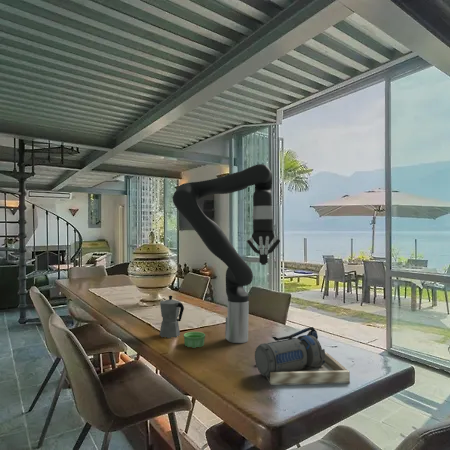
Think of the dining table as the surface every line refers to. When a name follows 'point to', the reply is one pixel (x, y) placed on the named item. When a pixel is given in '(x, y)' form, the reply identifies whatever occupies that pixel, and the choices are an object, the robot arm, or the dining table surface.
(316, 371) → the cream flat rectangular tray
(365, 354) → the dining table surface
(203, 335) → the ramekin
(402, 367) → the dining table surface
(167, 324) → the coffeepot
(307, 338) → the beverage bottle
